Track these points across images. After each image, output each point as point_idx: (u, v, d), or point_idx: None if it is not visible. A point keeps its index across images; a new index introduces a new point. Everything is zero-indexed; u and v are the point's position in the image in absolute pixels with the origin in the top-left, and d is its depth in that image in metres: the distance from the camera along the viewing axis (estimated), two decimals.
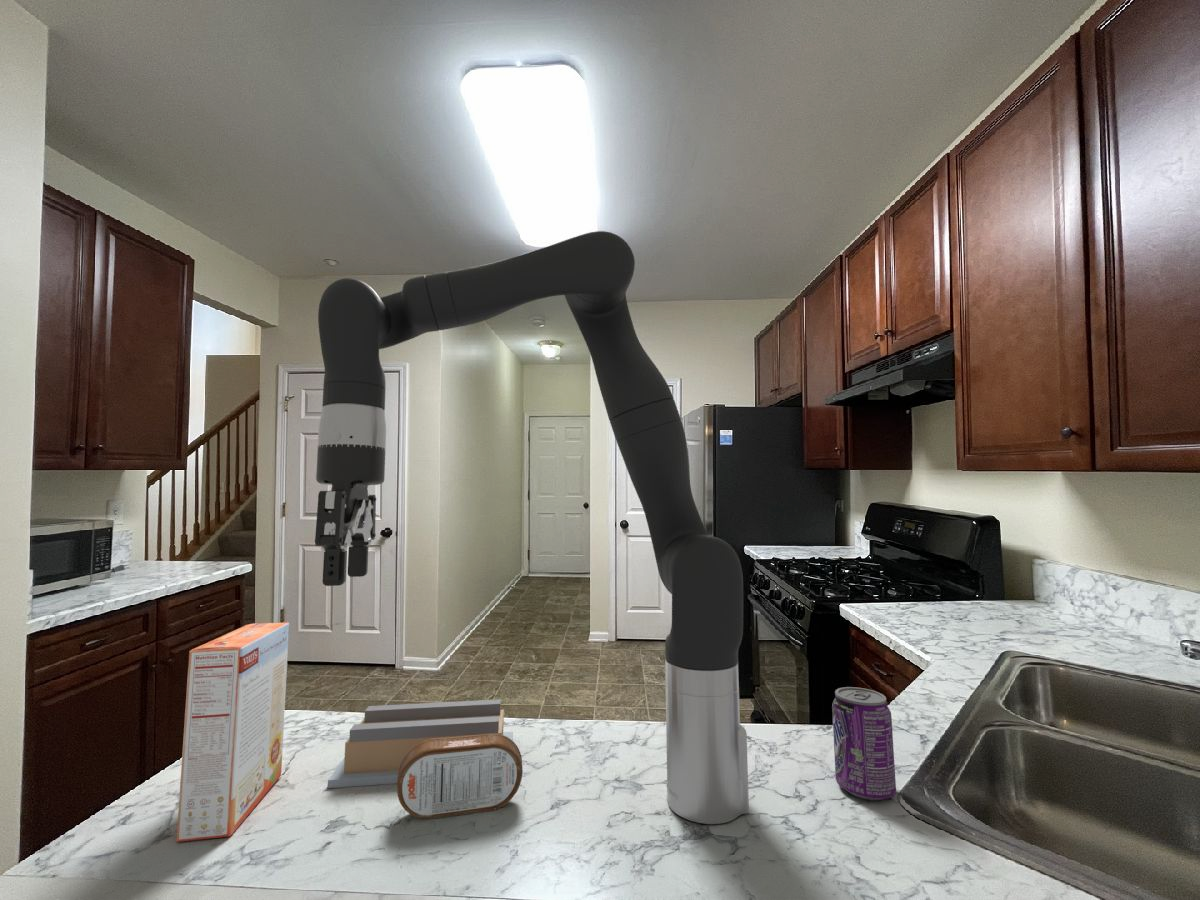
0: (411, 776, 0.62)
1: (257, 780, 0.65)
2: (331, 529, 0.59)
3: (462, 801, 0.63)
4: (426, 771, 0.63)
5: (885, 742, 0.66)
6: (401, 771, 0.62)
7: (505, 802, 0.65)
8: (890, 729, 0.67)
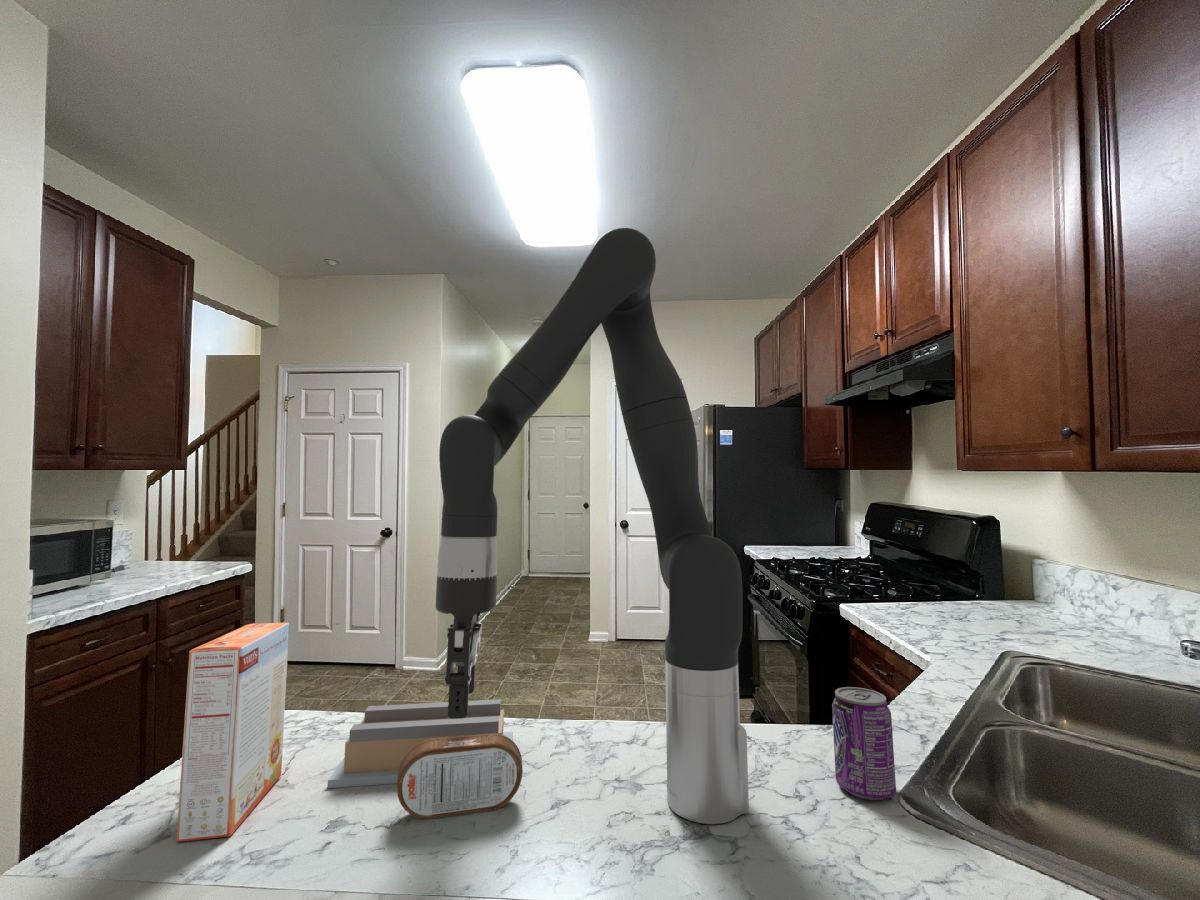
0: (411, 776, 0.62)
1: (257, 780, 0.65)
2: (455, 662, 0.62)
3: (462, 801, 0.63)
4: (426, 771, 0.63)
5: (885, 742, 0.66)
6: (401, 771, 0.62)
7: (505, 802, 0.65)
8: (890, 729, 0.67)
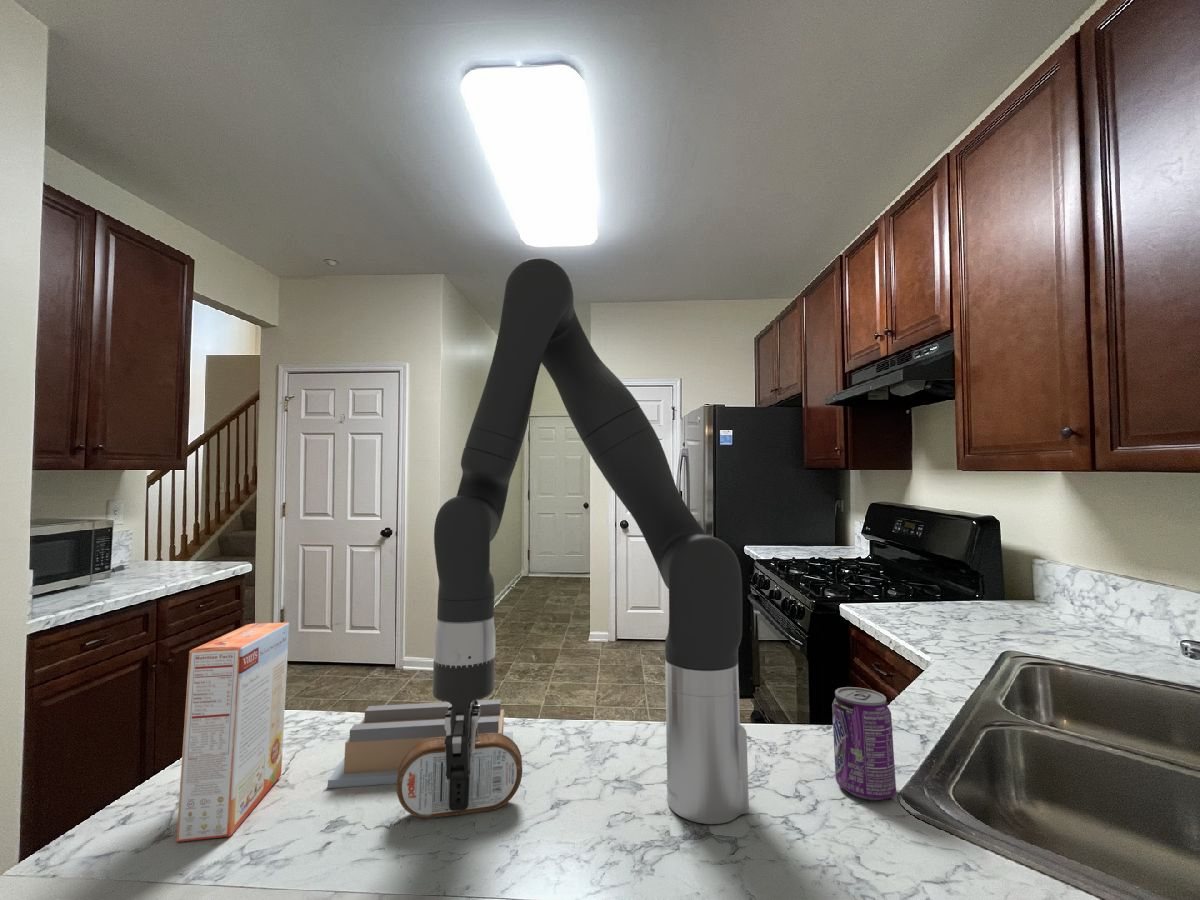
0: (410, 774, 0.62)
1: (257, 780, 0.65)
2: None
3: None
4: (426, 769, 0.63)
5: (885, 742, 0.66)
6: (401, 770, 0.62)
7: (505, 802, 0.64)
8: (890, 729, 0.67)
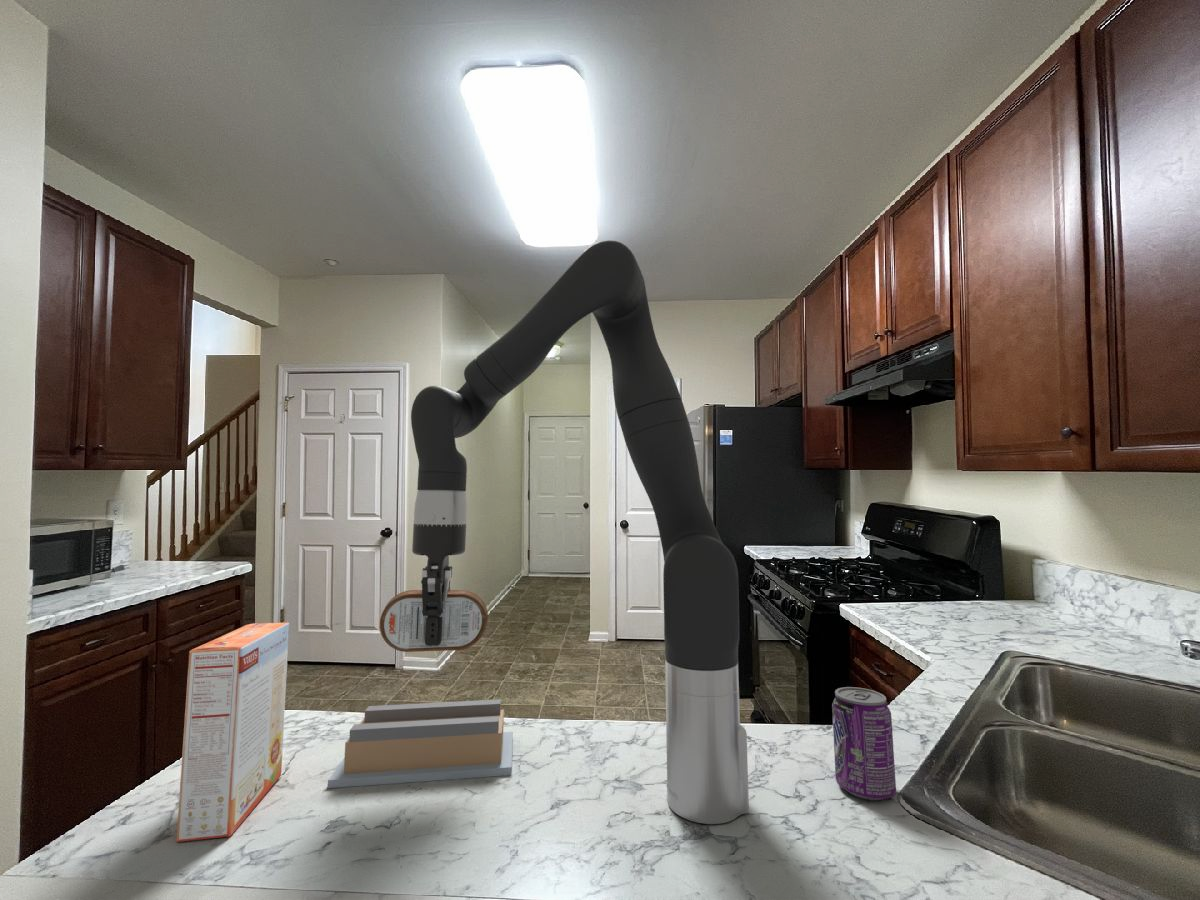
0: (391, 614, 0.74)
1: (257, 780, 0.65)
2: None
3: None
4: (404, 611, 0.75)
5: (885, 742, 0.66)
6: None
7: (471, 644, 0.76)
8: (890, 729, 0.67)
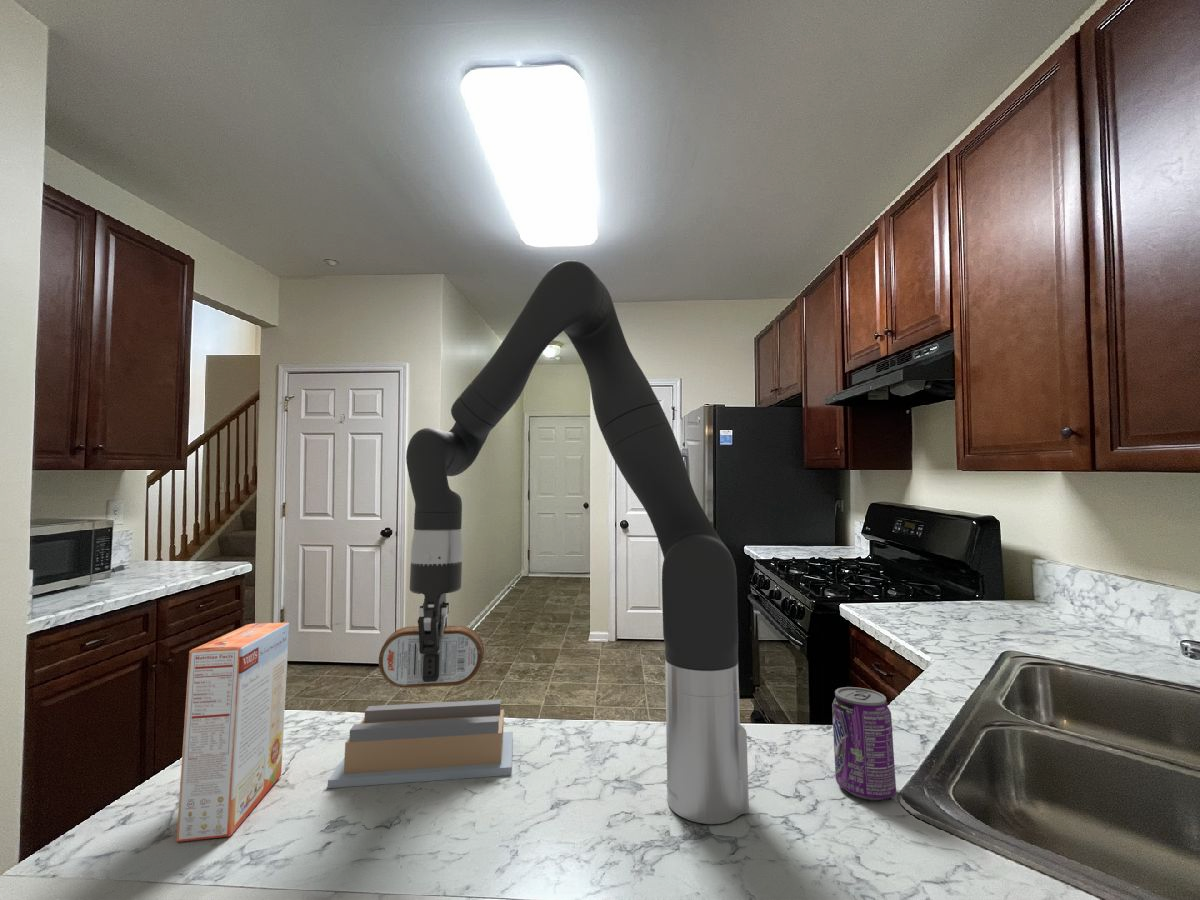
0: (390, 651, 0.77)
1: (257, 780, 0.65)
2: None
3: None
4: (402, 648, 0.77)
5: (885, 742, 0.66)
6: (382, 647, 0.77)
7: (467, 679, 0.78)
8: (890, 729, 0.67)
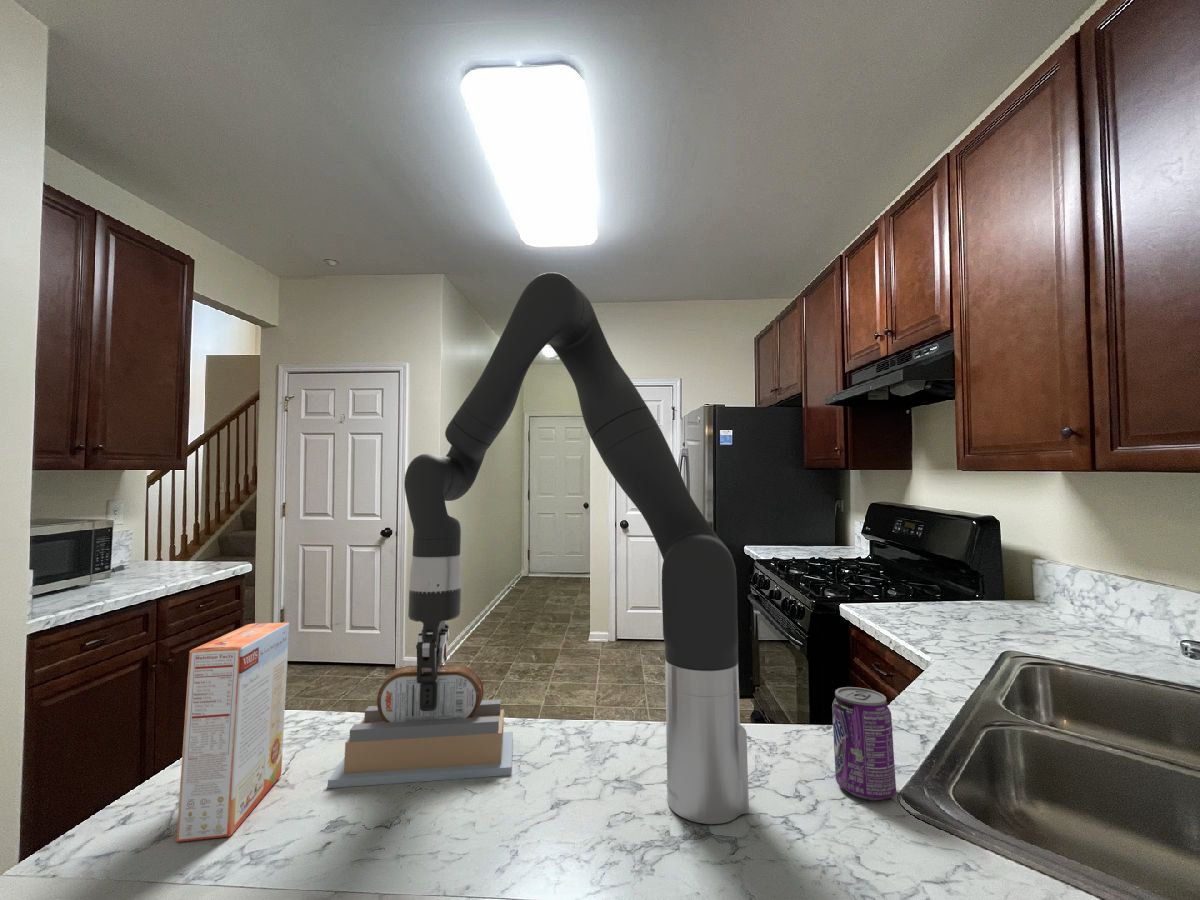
0: (388, 692, 0.76)
1: (257, 780, 0.65)
2: None
3: (430, 717, 0.76)
4: (400, 689, 0.76)
5: (885, 742, 0.66)
6: (380, 688, 0.76)
7: None
8: (890, 729, 0.67)
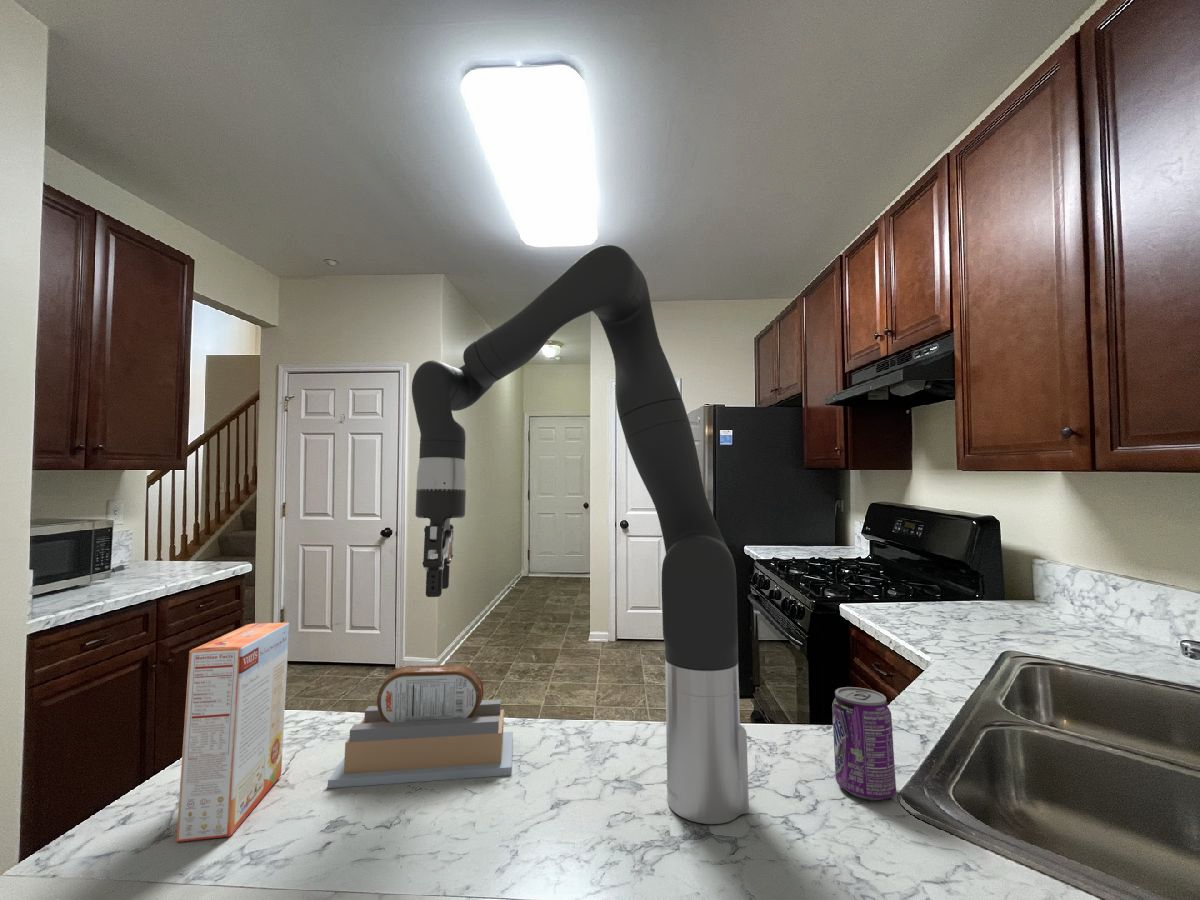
0: (388, 692, 0.76)
1: (257, 780, 0.65)
2: (431, 554, 0.78)
3: (430, 717, 0.76)
4: (400, 689, 0.76)
5: (885, 742, 0.66)
6: (380, 688, 0.76)
7: None
8: (890, 729, 0.67)
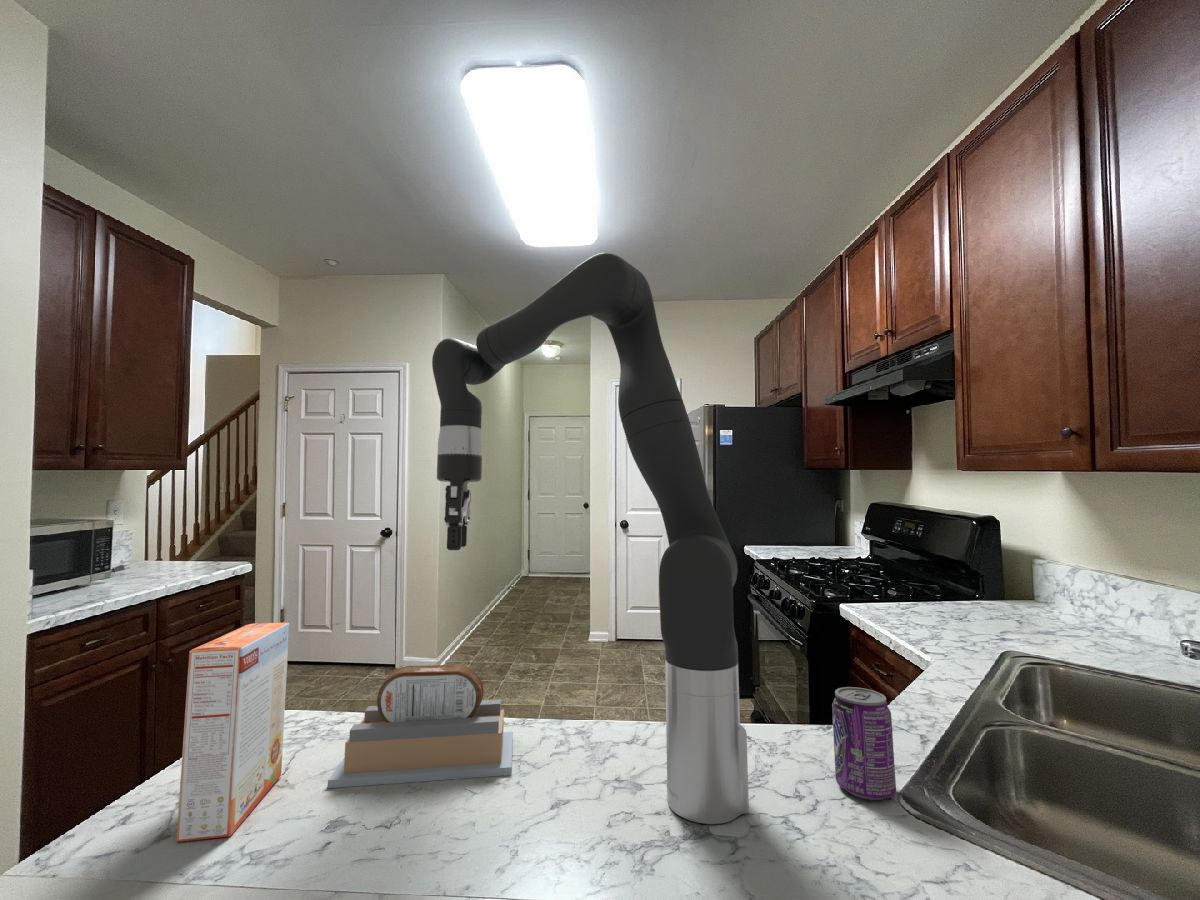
0: (388, 692, 0.76)
1: (257, 780, 0.65)
2: (451, 512, 0.86)
3: (430, 717, 0.76)
4: (400, 689, 0.76)
5: (885, 742, 0.66)
6: (380, 688, 0.76)
7: None
8: (890, 729, 0.67)
